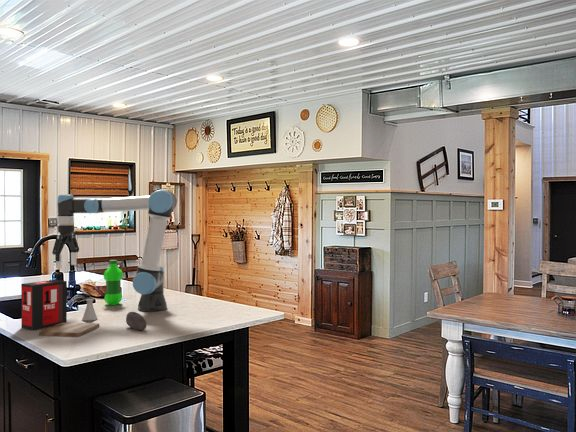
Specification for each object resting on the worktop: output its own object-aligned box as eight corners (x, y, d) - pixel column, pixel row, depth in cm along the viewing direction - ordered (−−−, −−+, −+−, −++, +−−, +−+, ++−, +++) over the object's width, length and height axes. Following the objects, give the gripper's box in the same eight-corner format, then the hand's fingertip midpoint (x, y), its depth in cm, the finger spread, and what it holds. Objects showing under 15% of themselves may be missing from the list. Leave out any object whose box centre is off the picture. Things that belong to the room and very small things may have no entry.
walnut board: (99, 326, 230) (99, 323, 230) (78, 336, 212) (78, 332, 212) (62, 325, 232) (62, 322, 232) (38, 335, 214) (38, 331, 214)
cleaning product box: (55, 321, 241) (55, 279, 241) (66, 323, 236) (66, 281, 236) (21, 328, 227) (21, 283, 227) (32, 330, 222) (32, 285, 222)
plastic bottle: (99, 305, 282) (99, 260, 282) (112, 302, 292) (112, 259, 292) (113, 306, 279) (113, 261, 278) (126, 303, 288) (126, 259, 288)
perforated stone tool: (150, 331, 222) (150, 315, 222) (139, 333, 218) (139, 317, 218) (136, 325, 233) (136, 310, 233) (125, 327, 230) (125, 312, 229)
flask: (84, 318, 248) (84, 298, 248) (99, 318, 249) (99, 297, 249) (79, 321, 241) (79, 300, 241) (95, 321, 242) (95, 300, 241)
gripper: (72, 224, 270) (73, 263, 270) (44, 225, 245) (44, 269, 245) (85, 224, 269) (86, 263, 269) (58, 225, 244) (58, 269, 244)
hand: (66, 266), depth 257 cm, fingers open, 13 cm apart
